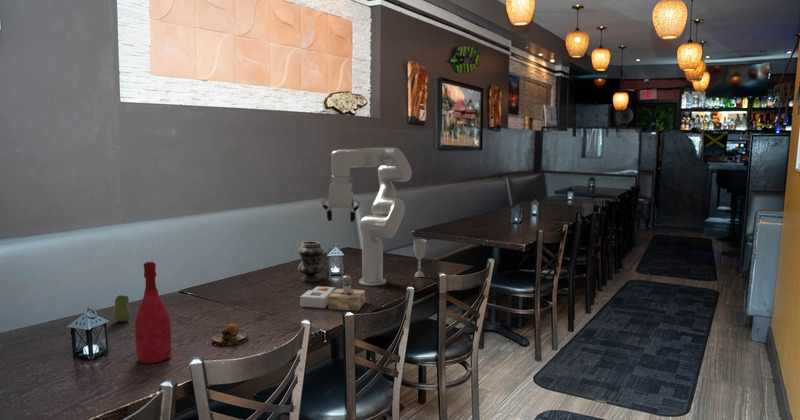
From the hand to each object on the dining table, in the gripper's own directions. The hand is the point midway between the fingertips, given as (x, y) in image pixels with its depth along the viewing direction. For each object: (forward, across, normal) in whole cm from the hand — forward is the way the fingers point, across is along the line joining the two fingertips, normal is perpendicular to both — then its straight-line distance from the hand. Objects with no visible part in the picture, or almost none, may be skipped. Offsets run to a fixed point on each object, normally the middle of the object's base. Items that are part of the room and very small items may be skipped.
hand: (341, 221), depth 235 cm
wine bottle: (+32, +37, +77) cm, 91 cm away
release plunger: (+31, +7, +4) cm, 32 cm away
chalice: (+32, -28, -39) cm, 58 cm away
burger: (+33, +22, +58) cm, 70 cm away
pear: (+32, +69, +48) cm, 90 cm away
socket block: (+32, +7, +9) cm, 34 cm away
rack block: (+32, -6, +13) cm, 35 cm away
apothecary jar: (+32, +22, -24) cm, 46 cm away
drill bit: (+32, -6, +13) cm, 35 cm away
